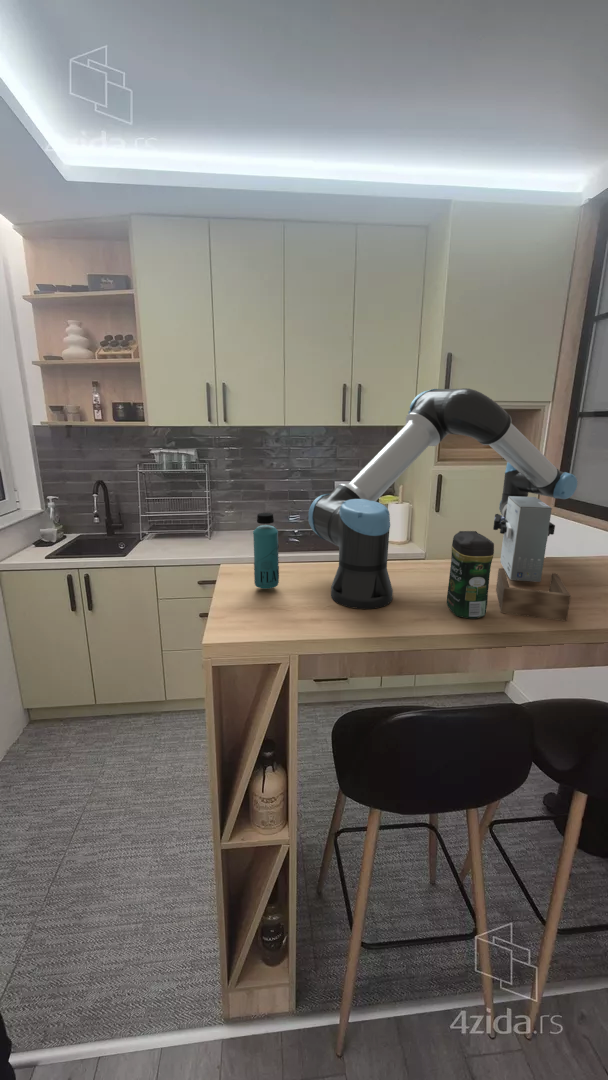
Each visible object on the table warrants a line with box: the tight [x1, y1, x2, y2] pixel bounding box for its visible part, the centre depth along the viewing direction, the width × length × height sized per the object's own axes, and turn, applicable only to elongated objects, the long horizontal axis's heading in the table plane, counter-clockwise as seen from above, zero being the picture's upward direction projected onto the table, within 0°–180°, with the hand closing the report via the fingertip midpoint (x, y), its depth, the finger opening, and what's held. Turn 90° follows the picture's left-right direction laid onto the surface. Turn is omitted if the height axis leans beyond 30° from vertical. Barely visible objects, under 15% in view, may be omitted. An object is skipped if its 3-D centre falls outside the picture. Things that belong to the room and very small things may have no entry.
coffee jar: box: [446, 530, 495, 620], centre depth 104 cm, size 10×8×19 cm
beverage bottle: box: [252, 512, 280, 590], centre depth 115 cm, size 6×7×20 cm
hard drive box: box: [499, 496, 553, 583], centre depth 124 cm, size 16×8×20 cm, turn 168°
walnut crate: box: [495, 567, 572, 622], centre depth 109 cm, size 13×14×6 cm
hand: (527, 534), depth 120 cm, fingers closed on hard drive box, 8 cm apart
